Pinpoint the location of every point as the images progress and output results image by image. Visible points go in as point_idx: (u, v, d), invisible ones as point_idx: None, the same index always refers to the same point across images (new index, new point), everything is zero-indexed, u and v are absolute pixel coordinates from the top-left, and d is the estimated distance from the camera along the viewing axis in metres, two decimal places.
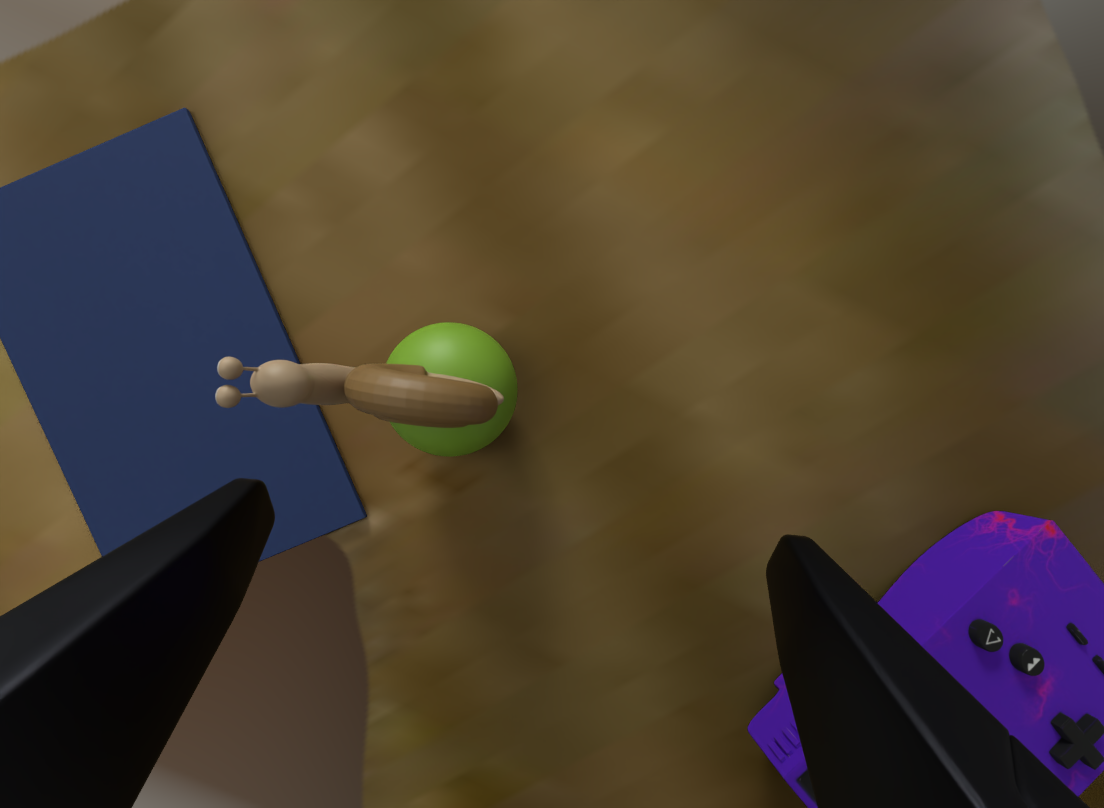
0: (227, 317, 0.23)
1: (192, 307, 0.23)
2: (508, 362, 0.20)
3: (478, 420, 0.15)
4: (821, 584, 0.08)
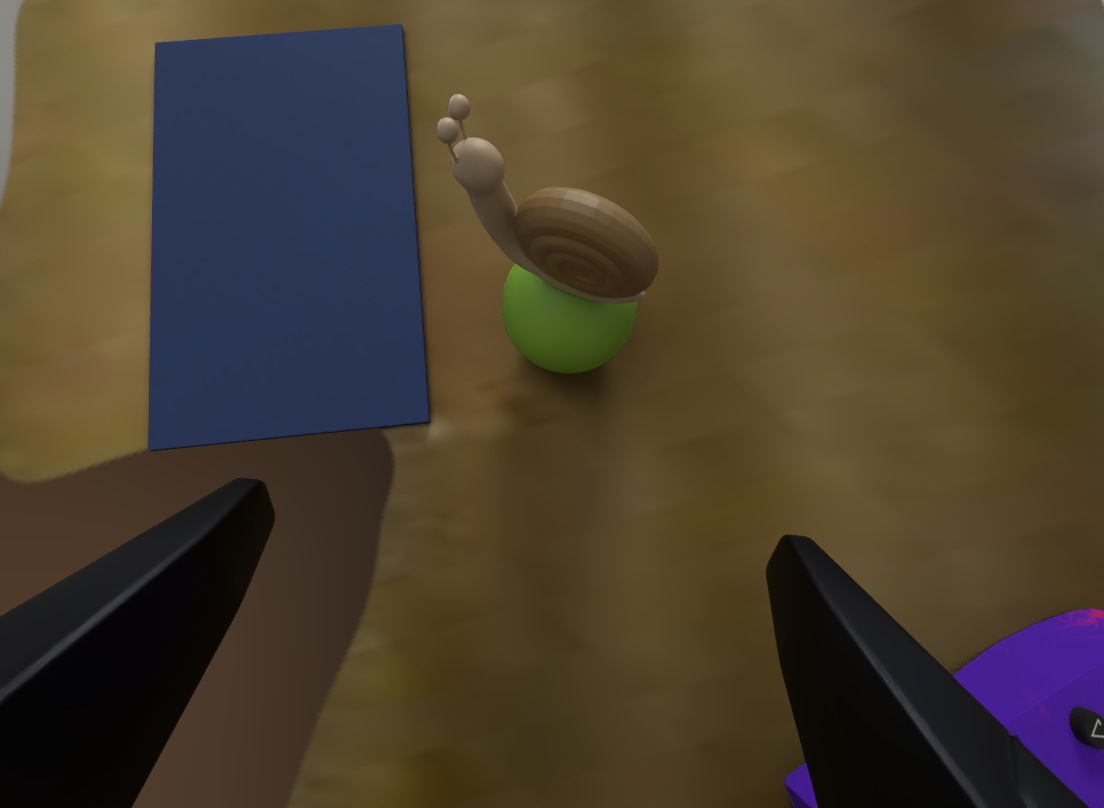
0: (368, 197, 0.24)
1: (339, 180, 0.24)
2: None
3: (643, 271, 0.14)
4: (821, 584, 0.08)
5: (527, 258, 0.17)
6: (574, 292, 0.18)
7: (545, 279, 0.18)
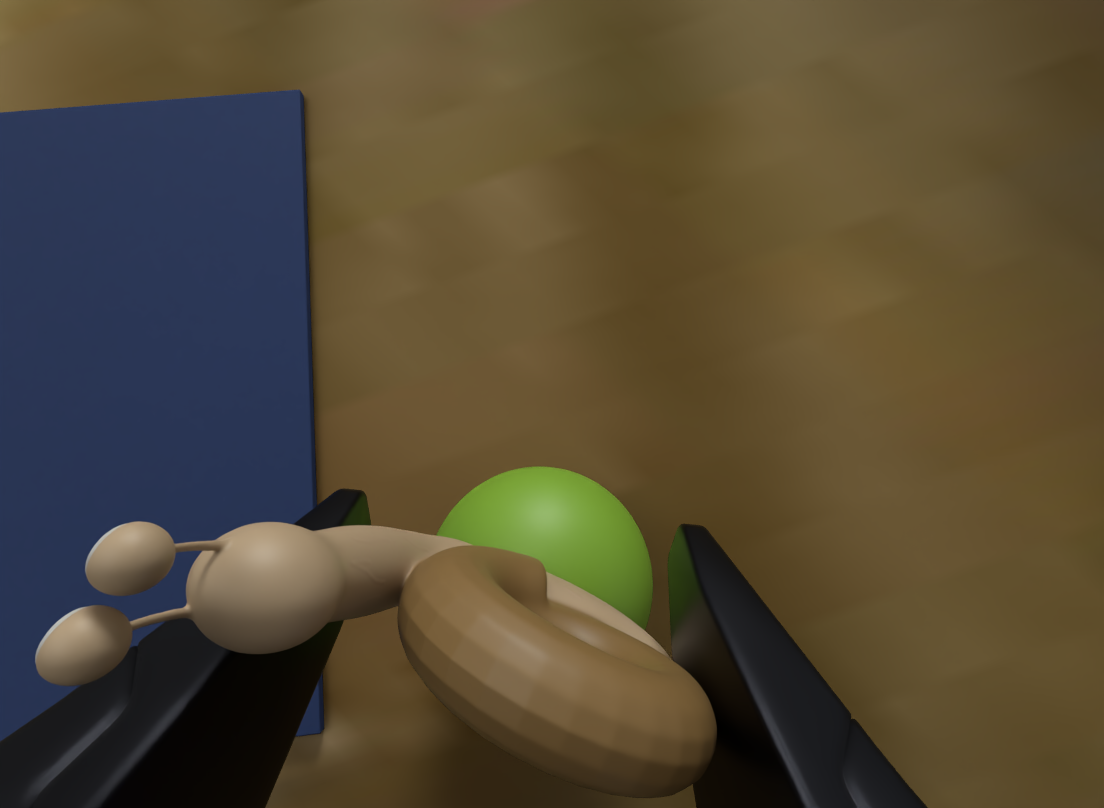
0: (239, 359, 0.16)
1: (196, 331, 0.16)
2: None
3: None
4: (702, 572, 0.08)
5: None
6: None
7: None
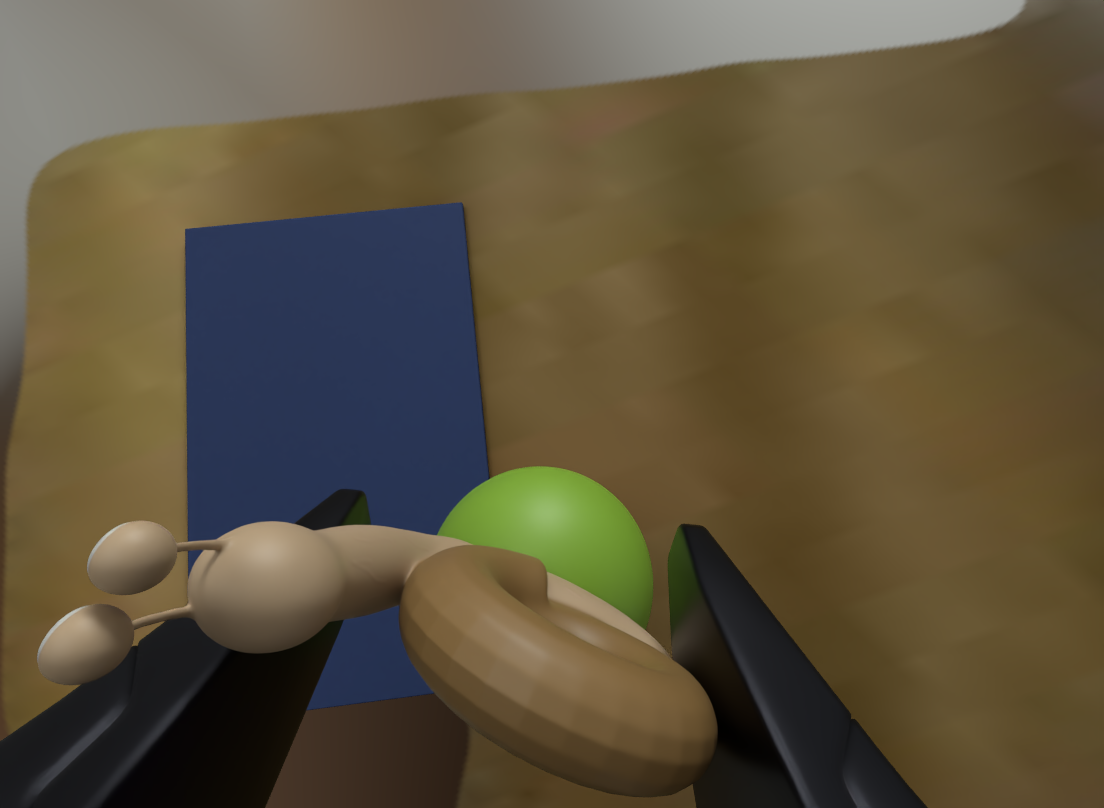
0: (431, 412, 0.21)
1: (398, 391, 0.21)
2: (651, 566, 0.12)
3: None
4: (702, 572, 0.08)
5: None
6: None
7: None
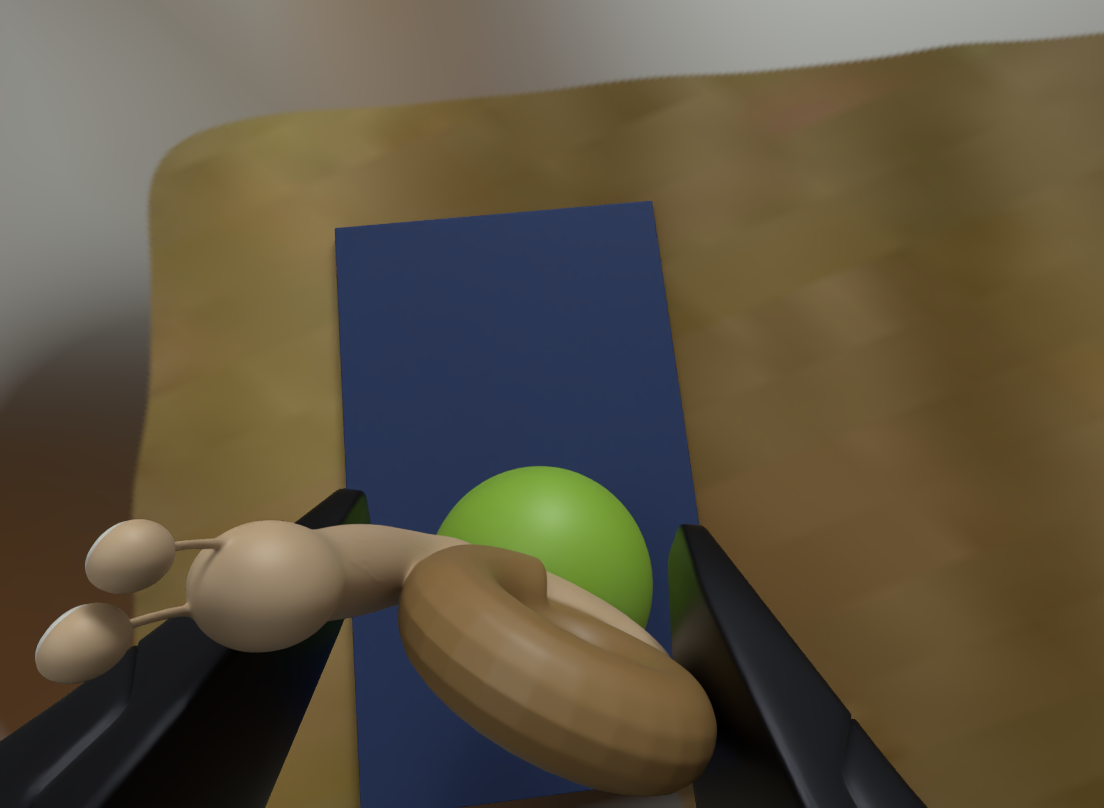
0: (629, 445, 0.18)
1: (589, 420, 0.18)
2: None
3: None
4: (702, 572, 0.08)
5: None
6: None
7: None
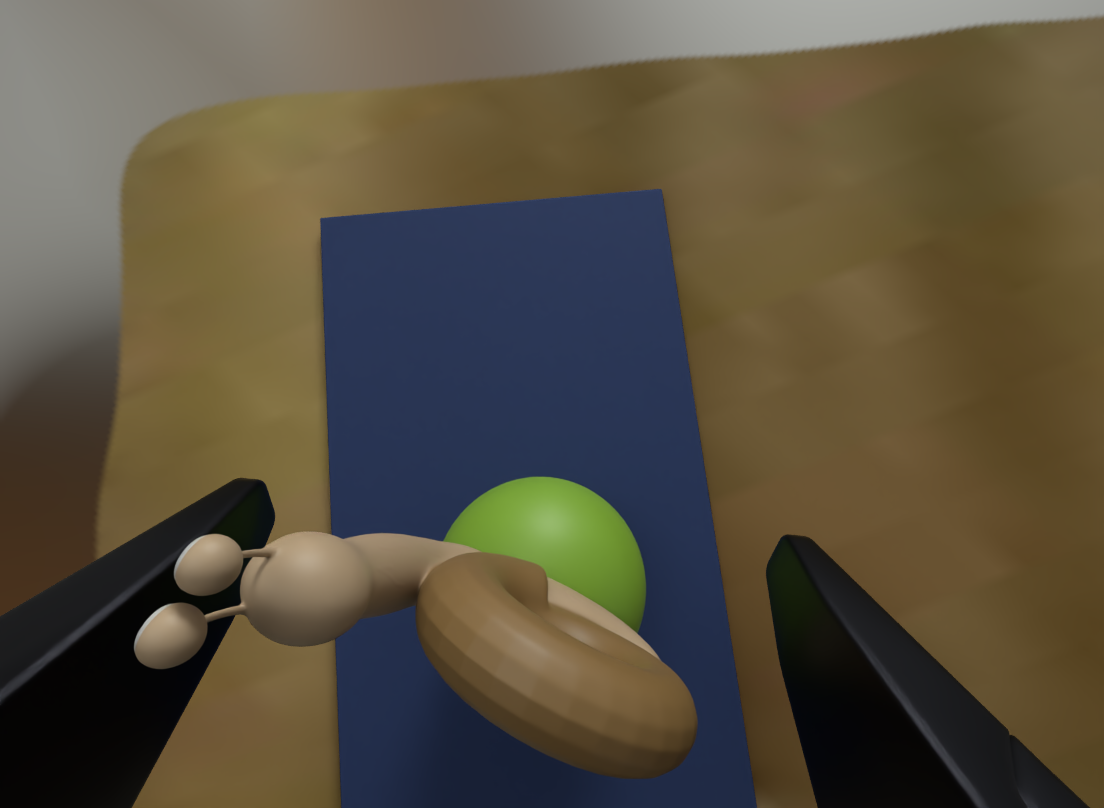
0: (639, 452, 0.17)
1: (595, 425, 0.17)
2: (644, 573, 0.13)
3: None
4: (821, 584, 0.08)
5: None
6: None
7: None
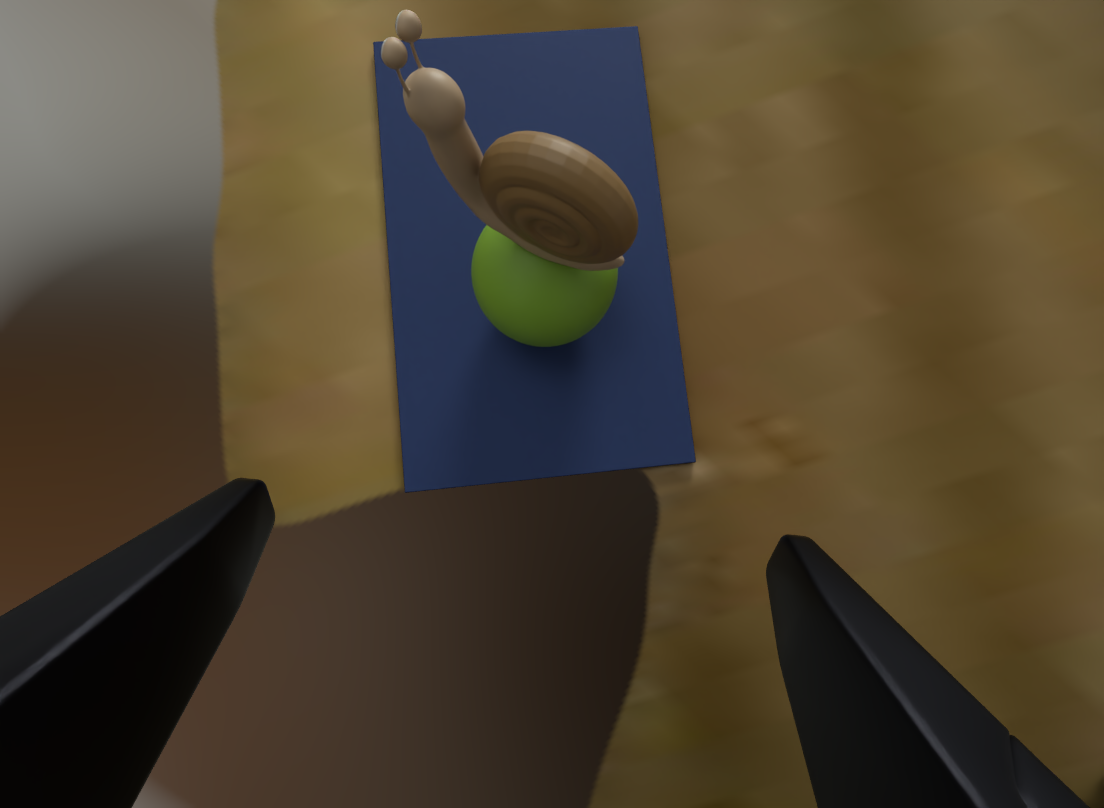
0: None
1: None
2: None
3: (620, 232, 0.13)
4: (821, 584, 0.08)
5: (495, 216, 0.15)
6: (547, 256, 0.16)
7: (516, 241, 0.16)
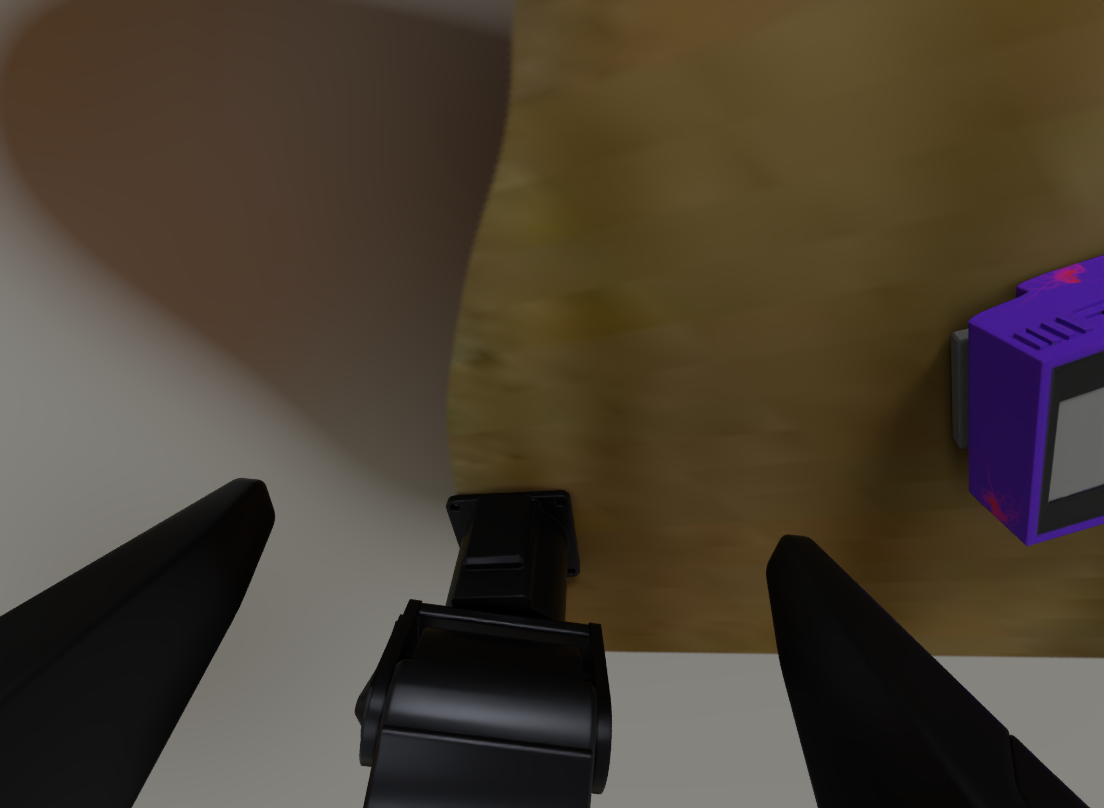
0: None
1: None
2: None
3: None
4: (821, 584, 0.08)
5: None
6: None
7: None
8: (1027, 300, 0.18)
